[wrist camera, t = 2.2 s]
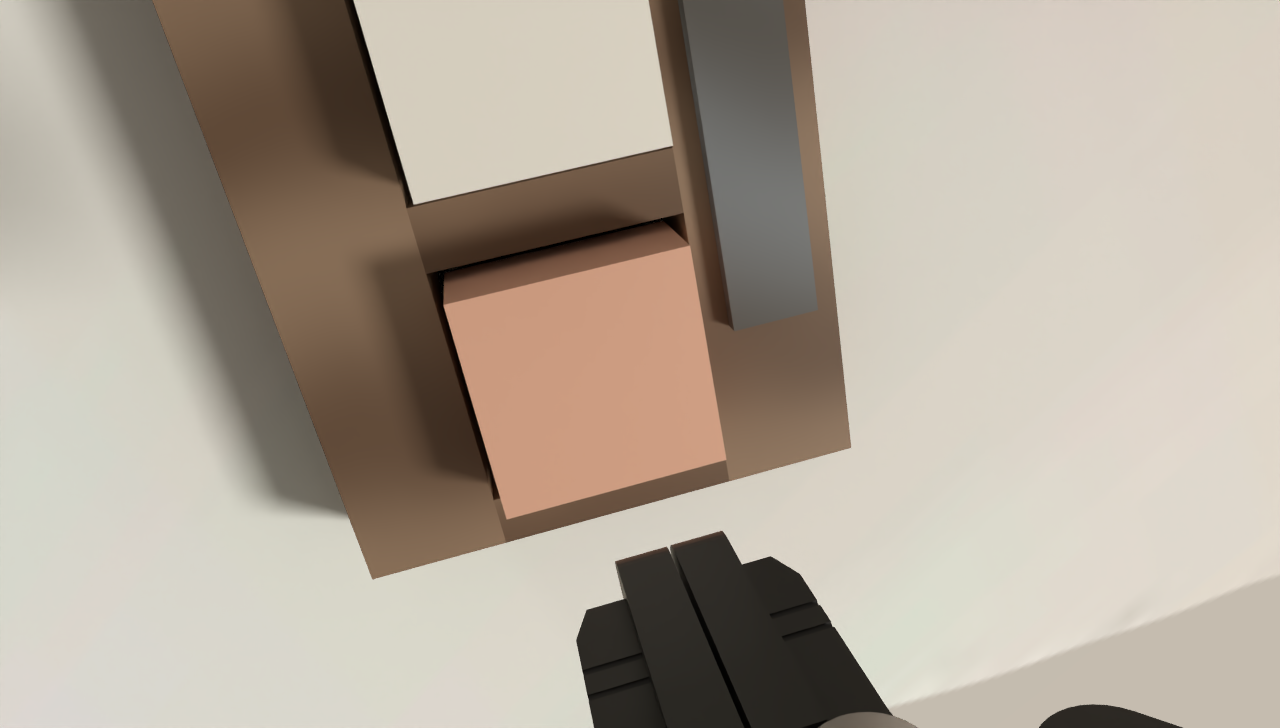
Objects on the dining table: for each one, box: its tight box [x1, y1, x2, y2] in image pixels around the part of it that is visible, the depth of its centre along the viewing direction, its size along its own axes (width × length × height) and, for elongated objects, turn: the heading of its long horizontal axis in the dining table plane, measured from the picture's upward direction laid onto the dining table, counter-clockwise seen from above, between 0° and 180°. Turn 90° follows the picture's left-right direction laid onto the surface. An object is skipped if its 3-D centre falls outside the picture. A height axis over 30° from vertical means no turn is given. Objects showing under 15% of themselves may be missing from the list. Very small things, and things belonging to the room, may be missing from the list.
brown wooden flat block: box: [152, 0, 851, 579], centre depth 18 cm, size 22×12×3 cm, turn 11°
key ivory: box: [354, 0, 673, 204], centre depth 16 cm, size 5×5×2 cm
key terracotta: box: [443, 221, 726, 519], centre depth 19 cm, size 5×5×2 cm
